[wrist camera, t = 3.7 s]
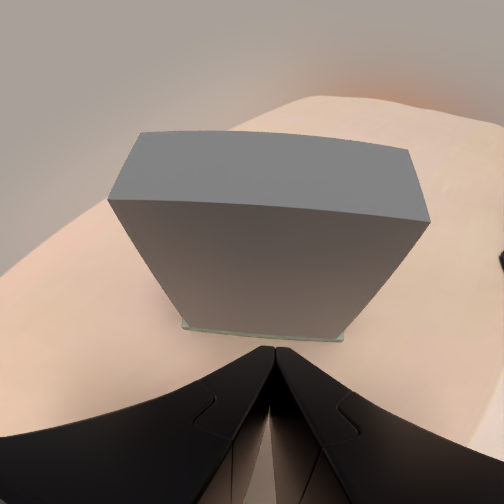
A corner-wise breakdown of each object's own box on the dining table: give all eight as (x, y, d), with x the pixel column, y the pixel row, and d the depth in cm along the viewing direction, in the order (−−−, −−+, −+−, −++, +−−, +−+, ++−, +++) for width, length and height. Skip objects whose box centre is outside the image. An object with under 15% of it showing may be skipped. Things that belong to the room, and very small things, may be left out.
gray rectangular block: (336, 338, 18) (430, 222, 7) (189, 326, 18) (107, 199, 8) (336, 290, 19) (405, 145, 9) (198, 279, 20) (143, 128, 10)
